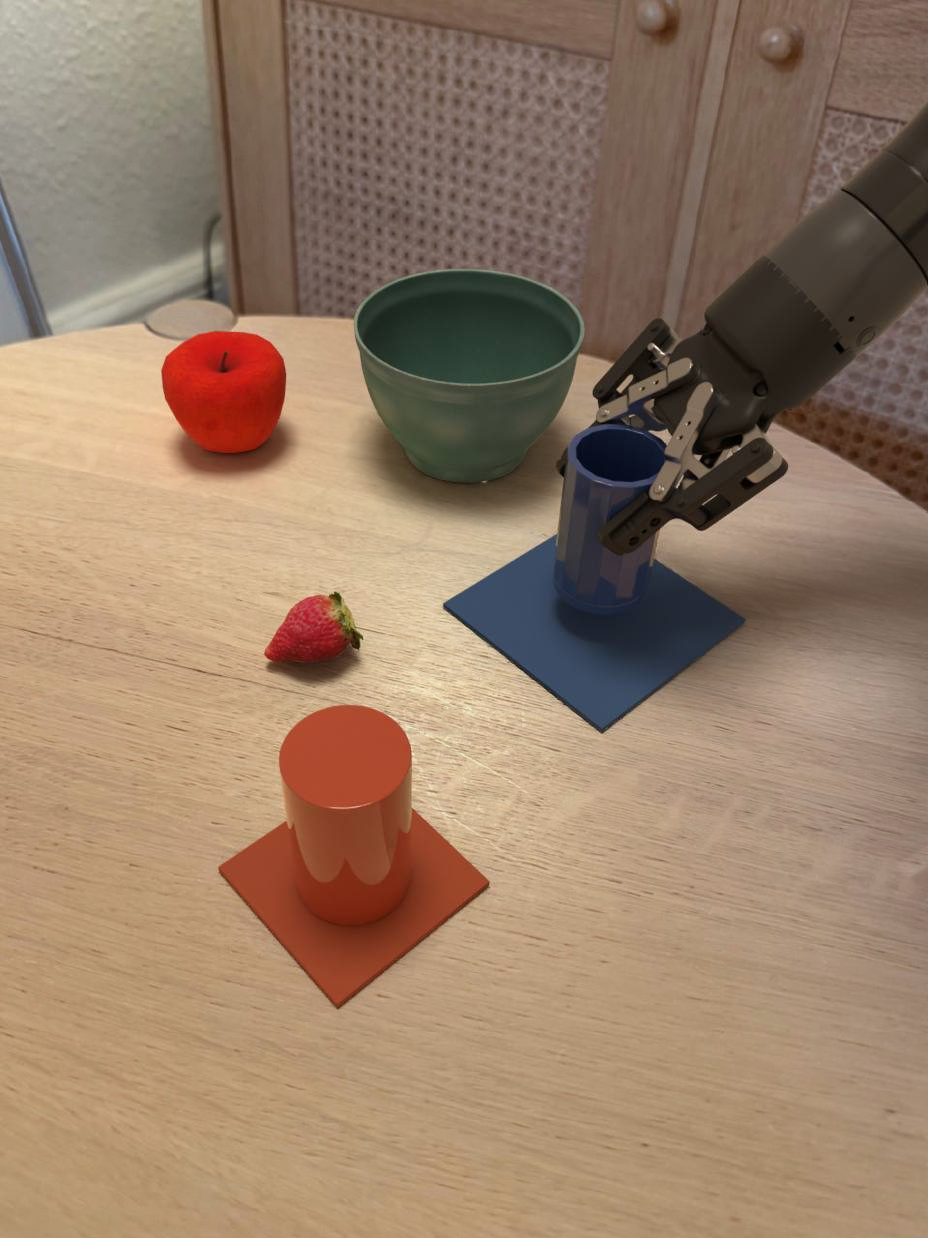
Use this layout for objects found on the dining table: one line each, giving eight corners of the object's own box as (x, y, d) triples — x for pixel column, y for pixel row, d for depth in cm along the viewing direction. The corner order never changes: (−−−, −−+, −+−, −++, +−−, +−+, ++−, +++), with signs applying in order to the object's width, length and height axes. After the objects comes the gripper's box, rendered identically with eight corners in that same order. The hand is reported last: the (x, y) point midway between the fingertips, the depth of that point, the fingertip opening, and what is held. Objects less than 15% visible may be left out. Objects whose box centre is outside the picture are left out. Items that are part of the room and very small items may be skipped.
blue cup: (666, 585, 69) (694, 457, 62) (603, 629, 66) (625, 500, 59) (596, 538, 72) (615, 411, 65) (532, 579, 69) (546, 450, 62)
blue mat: (744, 623, 71) (746, 618, 70) (601, 733, 64) (602, 728, 63) (587, 518, 78) (588, 514, 77) (442, 607, 71) (442, 603, 71)
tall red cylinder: (435, 878, 56) (439, 759, 49) (344, 949, 53) (333, 833, 46) (362, 806, 59) (355, 684, 52) (272, 869, 56) (252, 749, 49)
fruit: (263, 637, 68) (254, 579, 65) (357, 626, 69) (354, 569, 66) (267, 687, 65) (259, 629, 62) (366, 675, 66) (363, 617, 63)
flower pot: (316, 437, 84) (307, 310, 76) (473, 368, 91) (479, 246, 84) (452, 544, 75) (456, 413, 68) (612, 458, 83) (632, 331, 75)
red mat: (489, 885, 56) (490, 881, 56) (337, 1008, 51) (337, 1004, 51) (367, 769, 61) (367, 764, 61) (218, 871, 56) (217, 867, 56)
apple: (196, 489, 79) (180, 398, 73) (158, 426, 84) (140, 336, 78) (310, 456, 82) (303, 366, 76) (266, 398, 87) (256, 309, 82)
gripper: (717, 202, 61) (505, 412, 66) (858, 331, 51) (596, 564, 57) (778, 279, 66) (576, 468, 71) (917, 410, 56) (671, 616, 62)
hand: (586, 509), depth 64 cm, fingers closed on blue cup, 6 cm apart
